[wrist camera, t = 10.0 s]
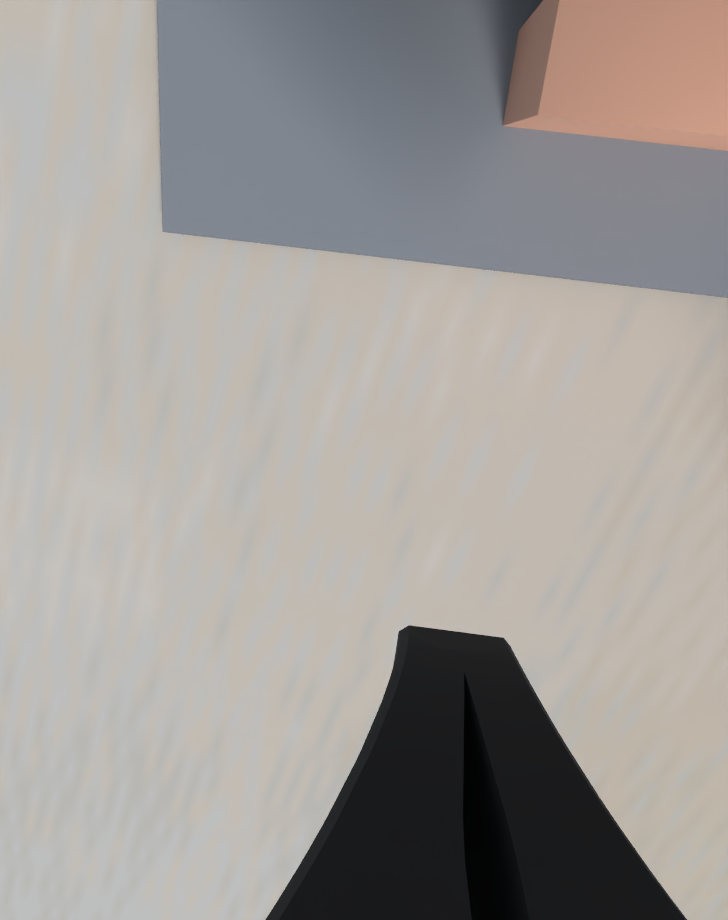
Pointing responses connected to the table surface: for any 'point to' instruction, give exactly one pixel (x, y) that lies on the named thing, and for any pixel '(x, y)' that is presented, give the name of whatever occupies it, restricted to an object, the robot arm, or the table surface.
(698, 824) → the table surface
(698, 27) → the salmon orange block
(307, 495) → the table surface
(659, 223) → the felt mat
